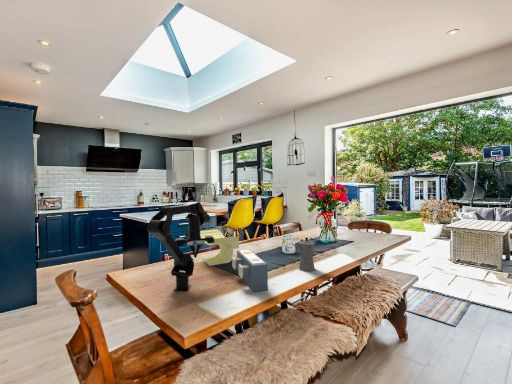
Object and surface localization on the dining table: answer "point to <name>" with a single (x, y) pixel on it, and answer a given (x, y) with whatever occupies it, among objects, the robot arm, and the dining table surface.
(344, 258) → the dining table surface
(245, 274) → the button near
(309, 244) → the coffeepot
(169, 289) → the dining table surface
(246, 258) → the switch box
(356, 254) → the dining table surface
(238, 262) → the button far
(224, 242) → the slatted curved stool
